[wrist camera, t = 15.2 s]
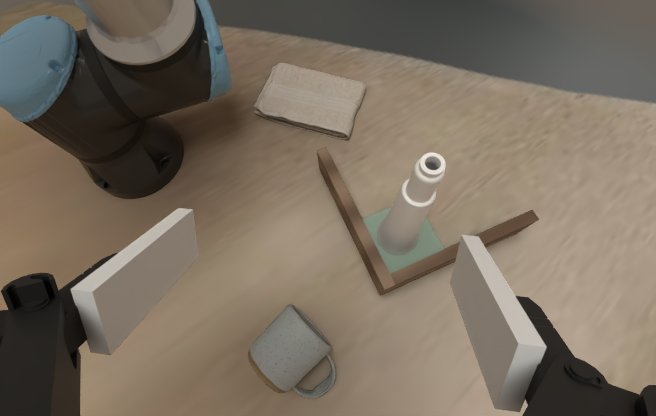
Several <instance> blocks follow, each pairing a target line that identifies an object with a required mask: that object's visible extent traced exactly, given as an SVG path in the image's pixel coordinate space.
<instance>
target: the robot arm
mask: <svg viewBox="0 0 656 416" xmlns="http://www.w3.org/2000/svg"><path fill="white" fill-rule="evenodd" d="M73 1H74V2H75V3H76V4H77V5H78V6H79V7H80V9H81V10H82V11H83V12H84V13H85V14H86V27H87V29H83V30H80V31H75V30H74V28H73V27H72V26H71V25H70V24H68V23H67V22H65V21H64V20H62V19H60V18H58V17H52V16H49V15H40V16H35V17H31V18H28V19H26V20H24V21H22V22H20V23H18V24H16V25H14V26H13V27H11V28H10V29H9V30H7V31H6V32H5V33H4V34H3V35H2V36H1V37H0V106H1V107H3V108H4V109H5V110H6V111H8V112H9V113H10V114H11V115H12V116H13V117H14V118H15V119H16V120H18V121H20V122H23V123H24V124H26V125H27V126H29V127H30V128H32V129H33V130H35V131H36V132H38V133H39V134H41V135H43V136H44V137H46V138H47V139H49V140H50V141H52V142H53V143H55V144H56V145H58V146H59V147H61V148H62V149H64V150H65V151H67V152H69V153H70V154H72V155H73V156H75V157H76V158H77V159H79V161H80V162H81V164H82V165H83V167H84V168H85V170H86V171H87V173H88V174H89V176H90V177H91V179H92V180H93V181H94V182H95V183H96V184H97V185H98V186H99V187H100V188H102V189H103V190H105V191H106V192H108V193H110V194H111V195H114V196H116V197H120V198H127V199H132V198H139V197H143V196H147V195H149V194H152V193H154V192H156V191H157V190H159V189H161V188H162V187H163V186H165V185H166V184H167V183H168V182H169V181H170V180H171V179H172V178H173V177H174V175H175V174H176V172H177V171H178V169H179V167H180V165H181V162H182V159H183V143H182V140H181V138H180V136H179V135H178V133H177V132H176V131H175V129H174V128H173V127H172V126H171V125H170V124H169V123H168V122H167V121H165V120H164V119H162V118H160V117H158V116H159V115H163V114H166V113H169V112H173V111H176V110H179V109H182V108H186V107H189V106H192V105H196V104H199V103H202V102H208V101H211V100H212V99H213V98H215V97H218V96H220V95H223V94H225V93H227V92H228V91H229V90H230V88H231V86H232V78H231V73H230V69H229V65H228V61H227V58H226V54H225V51H224V49H223V44H222V41H221V37H220V33H219V30H218V27H217V24H216V21H215V18H214V15H213V12H212V9H211V6H210V4H209V2H208V0H73ZM198 257H199V253H198V245H197V237H196V229H195V221H194V214H193V209H183V208H178V209H177V210H175V211H174V212H173V213H171V214H170V215H169V216H167V217H166V218H165V219H163V220H162V221H161V222H159V223H158V224H157V225H155V226H154V227H153V228H151V229H150V230H149V231H147V232H146V233H145V234H143V235H142V236H141V237H139V238H138V239H137V240H135V241H134V242H133V243H131V244H130V245H129V246H127V247H126V248H125V249H123V250H122V251H121V252H119V253H115V254H112V255H110V256H108V257H106V258H103V259H102V260H100V261H99V262H97V263H96V264H95V265H93V266H92V268H89V269H88V270H86V271H85V272H84V274H81V275H80V276H78V277H77V278H75V279H74V280H73V281H71V282H70V283H69V284H67V285H66V286H64V287H63V288H62V289H60V290H59V291H58V288H57V285H56V282H55V279H54V277H53V275H51V274H49V273H36V274H30V275H27V276H23V277H20V278H18V279H16V280H14V281H12V282H10V283H9V284H7V285H6V286H4V288H3V289H2V290H1V293H2V295H3V297H4V300H5V302H6V304H7V307H8V309H9V310H3V311H0V416H80V364H81V355H80V352H79V349H78V348H79V347H80V346H81V345H82V344H83V343H84V342H85V341H86V340H87V342H88V345H89V348H90V351H91V352H92V353H99V354H106V355H111V354H112V353H113V352H114V351H115V350H116V349H117V348H118V347H119V345H120V344H121V343H122V342H123V341H124V340H125V339H126V338H127V336H128V335H129V334H130V333H131V332H132V331H133V330H134V329H135V327H136V326H137V325H138V324H139V323H140V322H141V321H142V320H143V319H144V317H145V316H146V315H147V314H148V313H149V312H150V311H151V310H152V308H153V307H154V306H155V305H156V304H157V303H158V302H159V301H160V299H161V298H162V297H163V296H164V295H165V294H166V293H167V292H168V290H169V289H170V288H171V287H172V286H173V285H174V284H175V283H176V282H177V280H178V279H179V278H180V277H181V276H182V275H183V274H184V273H185V271H186V270H187V269H188V268H189V267H190V266H191V265H192V264H193V262H194V261H195V260H196V259H197V258H198ZM450 285H451V287H452V290H453V293H454V296H455V299H456V301H457V304H458V307H459V310H460V313H461V315H462V318H463V321H464V324H465V327H466V329H467V332H468V335H469V338H470V341H471V344H472V346H473V349H474V352H475V355H476V358H477V360H478V363H479V366H480V369H481V372H482V374H483V377H484V380H485V383H486V386H487V388H488V391H489V394H490V397H491V400H492V402H493V405H494V408H495V409H501V410H508V411H516V412H520V410H521V408H522V405H523V403H524V401H525V399H526V402H527V404H528V407H527V408H526V410H525V412H524V414H523V416H656V385H648V386H647V387H645V388H644V389H643V390H642V392H641V394H640V395H639V394H636V393H633V392H630V391H627V390H625V389H622V388H619V387H616V386H613V385H611V384H608V383H607V381H606V379H605V378H604V376H603V375H602V374H601V373H600V372H599V371H598V370H597V369H596V368H594V367H593V366H591V365H590V364H588V363H587V362H585V361H582V360H580V359H578V358H575V357H574V355H573V354H572V353H571V351H570V350H569V348H568V347H567V345H566V344H565V342H564V341H563V340H562V338H561V337H560V335H559V334H558V332H557V331H556V329H555V328H553V325H552V324H551V322H550V321H549V320H548V319H547V316H546V315H545V313H544V312H543V311H542V309H541V308H540V307H539V306H538V305H537V304H536V303H534V302H533V301H532V300H531V299H529V298H528V297H520V296H515V295H514V293H513V292H512V290H511V288H510V287H509V285H508V284H507V282H506V280H505V279H504V277H503V275H502V274H501V272H500V271H499V269H498V267H497V266H496V264H495V262H494V261H493V259H492V258H491V256H490V254H489V253H488V251H487V249H486V248H485V246H484V245H483V243H482V241H481V240H480V238H479V236H469V235H461V239H460V244H459V248H458V252H457V256H456V261H455V265H454V269H453V273H452V278H451V282H450Z"/></svg>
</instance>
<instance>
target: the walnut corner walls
mask: <svg viewBox="0 0 656 416" xmlns="http://www.w3.org/2000/svg"><path fill="white" fill-rule="evenodd" d="M317 155H318V162H319V168H320V171H321V173H322V175H323V178H324V180H325V182H326V184H327V186H328V188H329V190H330V192H331V194H332V196H333V198H334V201H335V203H336V205H337V207H338V209H339V211H340V213H341V215H342V217H343V219H344V221H345V223H346V226H347V228H348V230H349V232H350V234H351V236H352V238H353V240H354V242H355V244H356V246H357V249H358V251H359V253H360V255H361V257H362V259H363V261H364V263H365V265H366V267H367V269H368V272H369V274H370V276H371V278H372V280H373V282H374V284H375V286H376V288H377V290H378V292H379V295H380V296H381V295H383V294H385V293H387V292H389V291H391V290H394V289H396V288H398V287H400V286H402V285H405V284H407V283H409V282H411V281H413V280H416V279H418V278H420V277H422V276H424V275H427V274H429V273H431V272H433V271H435V270H437V269H440V268H442V267H444V266H446V265H448V264H451V263H453V262H455V261H456V256H457V252H458V248H459V244H460V242H459V243H457V244H455V245H453V246H451V247H448V248H446V249H444V250H442V251H439V252H437V253H435V254H433V255H431V256H428V257H426V258H424V259H422V260H419V261H417V262H415V263H413V264H411V265H408V266H406V267H404V268H402V269H399V270H397V271H395V272H393V273H391V274H390V273H389V271H388V269H387V267H386V265H385V263H384V261H383V259H382V257H381V255H380V253H379V251H378V249H377V247H376V245H375V243H374V241H373V239H372V237H371V235H370V233H369V231H368V229H367V227H366V225H365V223H364V221H363V219H362V217H361V215H360V213H359V211H358V209H357V207H356V205H355V203H354V201H353V199H352V197H351V195H350V193H349V191H348V189H347V187H346V185H345V183H344V181H343V179H342V178H341V176H340V174H339V172H338V170H337V168H336V166H335V164H334V162H333V160H332V158H331V156H330V154H329V152H328V150H327V148H326V147H325V148H322V149H320V150H317ZM537 220H539V218H538V217H537V216H536V214H535V213H534V212H533V210H530V211H528V212H526V213H524V214H522V215H519V216H517V217H515V218H513V219H510V220H508V221H506V222H504V223H502V224H499V225H497V226H495V227H493V228H490V229H488V230H486V231H484V232H482V233H479V234H477V235H475V236H479V238H480V240H481V241H482V243H483V245H484V246H485V248H486V247H488V246H490V245H492V244H494V243H497V242H499V241H501V240H503V239H505V238H508V237H510V236H512V235H514V234H516V233H518V232H520V231H521V230H523V229H525V228H526V227H528V226H529V225H531V224H533V223H534V222H536V221H537Z"/></svg>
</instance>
